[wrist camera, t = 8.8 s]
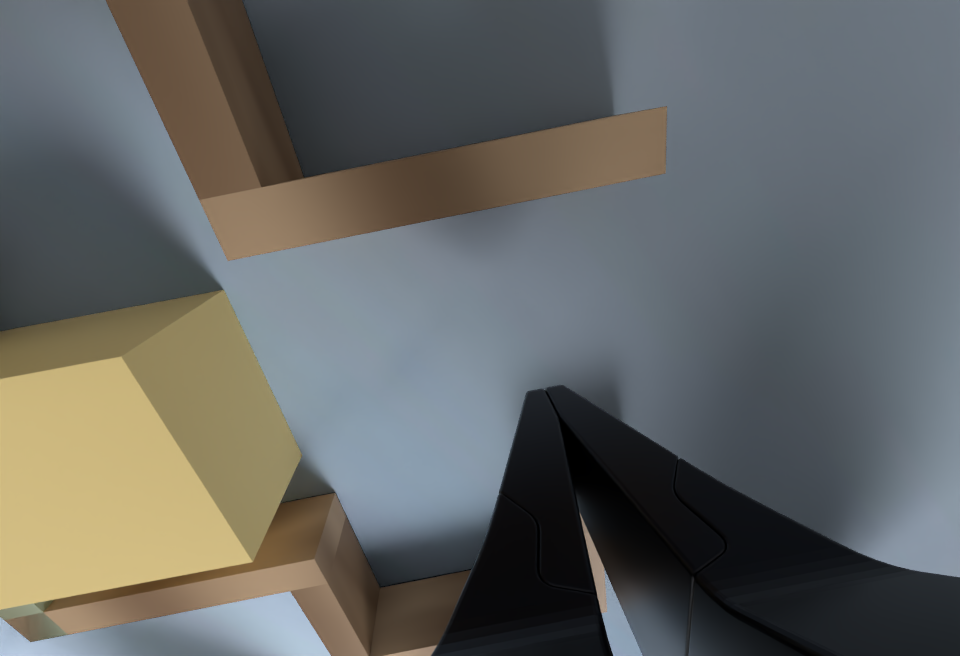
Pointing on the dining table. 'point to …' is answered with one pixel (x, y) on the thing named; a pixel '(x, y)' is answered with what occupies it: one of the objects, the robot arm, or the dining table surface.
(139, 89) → the dining table surface
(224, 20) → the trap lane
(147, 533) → the block
